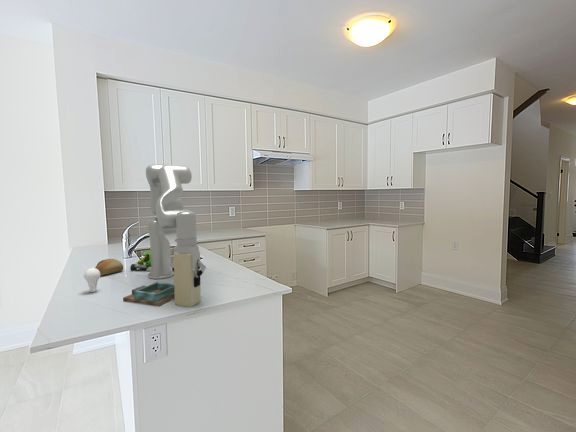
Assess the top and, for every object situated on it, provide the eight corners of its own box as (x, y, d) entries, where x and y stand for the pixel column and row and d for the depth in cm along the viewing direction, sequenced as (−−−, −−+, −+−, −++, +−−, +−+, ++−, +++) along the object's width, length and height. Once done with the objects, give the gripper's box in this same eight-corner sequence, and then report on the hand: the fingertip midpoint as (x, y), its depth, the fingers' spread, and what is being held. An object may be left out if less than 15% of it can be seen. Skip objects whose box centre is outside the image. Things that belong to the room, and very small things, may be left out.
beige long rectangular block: (202, 300, 120) (201, 250, 119) (191, 307, 114) (189, 254, 112) (186, 298, 123) (185, 249, 121) (174, 304, 116) (172, 253, 114)
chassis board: (123, 301, 120) (122, 290, 120) (149, 290, 133) (148, 280, 133) (158, 306, 114) (157, 295, 114) (181, 294, 128) (181, 284, 127)
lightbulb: (84, 295, 127) (82, 270, 126) (86, 291, 132) (84, 267, 131) (100, 293, 130) (99, 269, 129) (102, 289, 135) (100, 265, 134)
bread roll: (89, 276, 156) (88, 261, 155) (116, 269, 169) (115, 255, 169) (101, 278, 152) (100, 263, 151) (127, 271, 165) (126, 257, 165)
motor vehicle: (130, 272, 164) (129, 253, 163) (147, 263, 183) (146, 247, 183) (150, 272, 164) (149, 253, 163) (165, 263, 183) (164, 247, 182)
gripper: (162, 242, 115) (164, 285, 117) (199, 245, 110) (201, 290, 111) (175, 239, 122) (176, 280, 124) (211, 241, 117) (212, 284, 118)
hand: (188, 284), depth 118 cm, fingers closed on beige long rectangular block, 8 cm apart
